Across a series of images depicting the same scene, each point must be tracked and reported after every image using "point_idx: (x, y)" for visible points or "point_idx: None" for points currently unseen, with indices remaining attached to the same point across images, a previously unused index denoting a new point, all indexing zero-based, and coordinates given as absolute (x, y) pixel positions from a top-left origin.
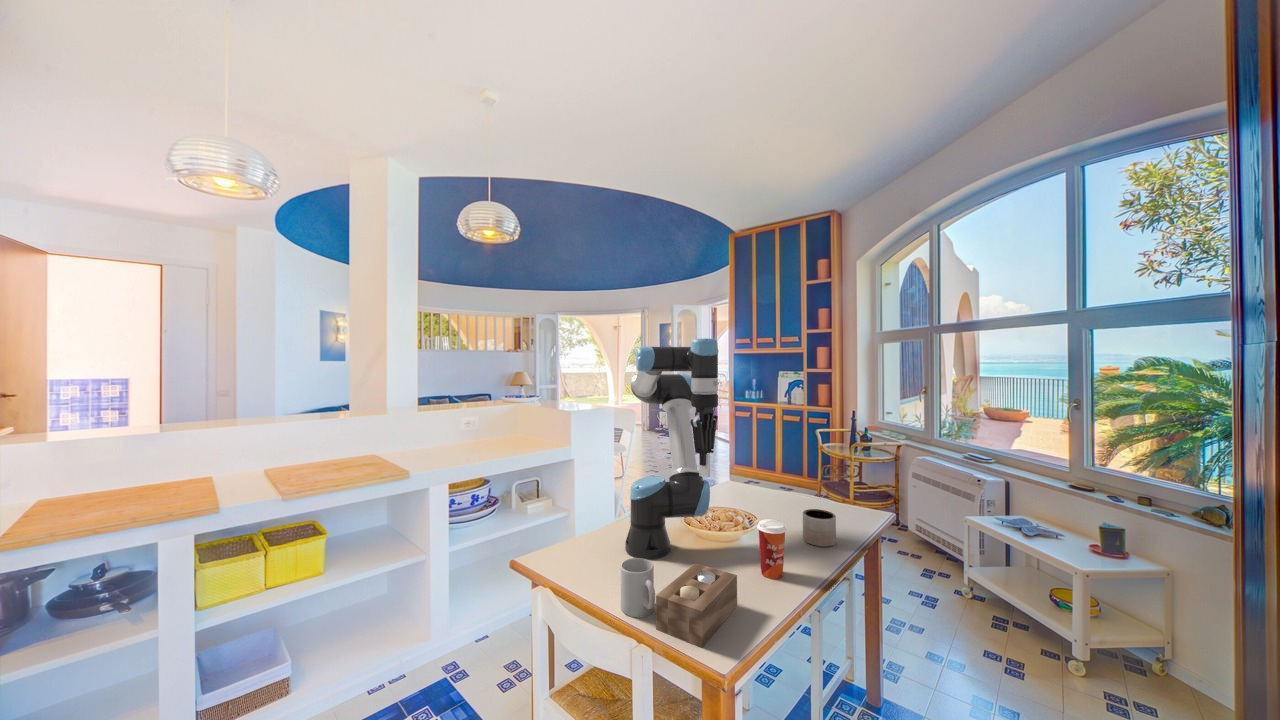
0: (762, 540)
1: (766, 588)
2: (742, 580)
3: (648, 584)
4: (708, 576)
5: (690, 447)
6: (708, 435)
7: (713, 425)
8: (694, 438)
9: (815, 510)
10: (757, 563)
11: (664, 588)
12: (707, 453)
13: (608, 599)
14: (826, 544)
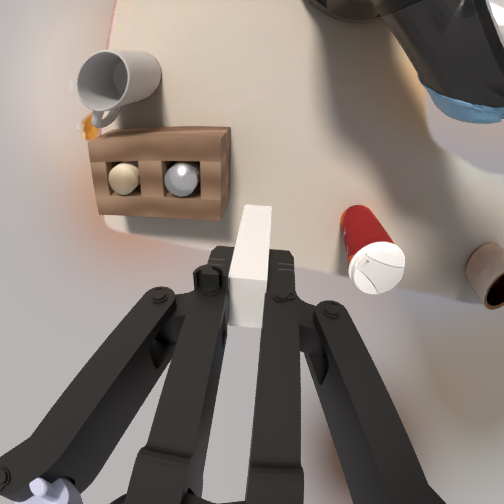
0: (354, 243)
1: (305, 222)
2: (314, 183)
3: (91, 121)
4: (178, 185)
5: None
6: (252, 429)
7: (354, 496)
8: (89, 368)
9: None
10: (388, 191)
11: (108, 140)
12: (249, 318)
13: (132, 27)
14: (466, 276)
